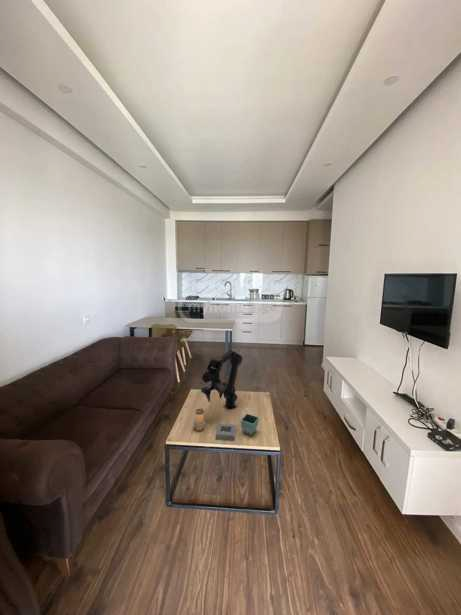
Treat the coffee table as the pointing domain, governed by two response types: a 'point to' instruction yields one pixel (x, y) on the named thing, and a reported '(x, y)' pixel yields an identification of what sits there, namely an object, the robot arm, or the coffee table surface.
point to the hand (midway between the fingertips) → (214, 399)
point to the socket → (225, 436)
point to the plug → (199, 419)
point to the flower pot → (249, 423)
